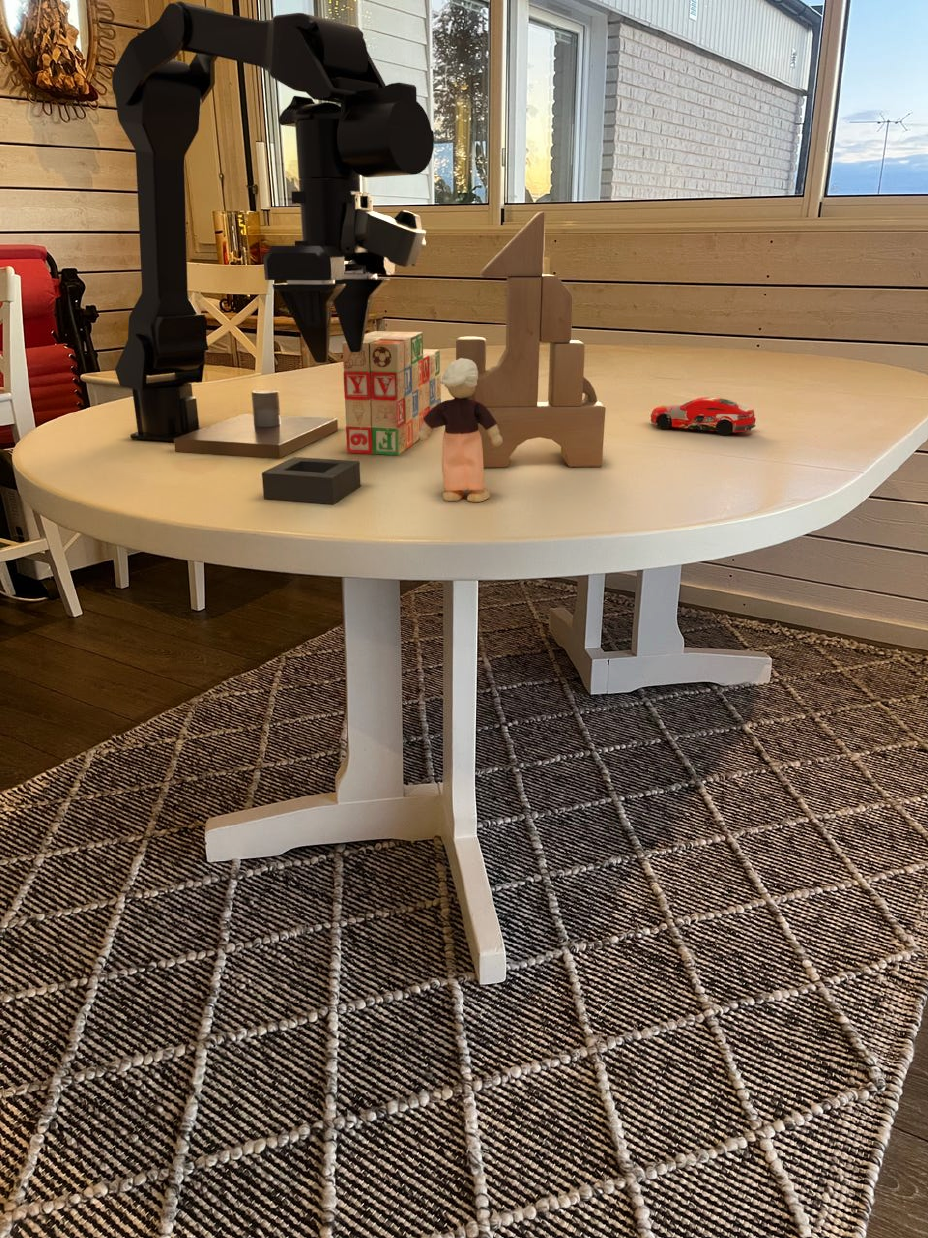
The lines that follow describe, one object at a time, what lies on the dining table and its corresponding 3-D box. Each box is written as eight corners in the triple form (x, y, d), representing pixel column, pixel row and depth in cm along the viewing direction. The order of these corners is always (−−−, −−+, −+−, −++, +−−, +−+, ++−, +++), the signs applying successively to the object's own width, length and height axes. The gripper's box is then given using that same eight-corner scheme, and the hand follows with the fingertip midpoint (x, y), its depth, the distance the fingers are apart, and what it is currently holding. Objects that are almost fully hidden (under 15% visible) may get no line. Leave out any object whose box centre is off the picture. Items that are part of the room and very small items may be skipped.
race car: (643, 428, 118) (646, 396, 117) (657, 421, 123) (660, 391, 121) (746, 438, 112) (750, 405, 111) (757, 431, 117) (761, 399, 115)
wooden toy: (590, 453, 104) (604, 213, 94) (602, 467, 98) (618, 211, 88) (455, 454, 103) (455, 212, 94) (458, 468, 97) (458, 210, 87)
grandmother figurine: (499, 492, 88) (502, 355, 83) (502, 502, 84) (504, 361, 79) (419, 492, 88) (417, 355, 83) (418, 503, 84) (416, 360, 79)
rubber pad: (263, 498, 85) (261, 472, 84) (295, 481, 91) (293, 456, 90) (333, 504, 84) (332, 477, 83) (360, 486, 90) (359, 460, 89)
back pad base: (174, 451, 104) (169, 402, 102) (245, 424, 119) (241, 381, 117) (279, 458, 101) (275, 408, 99) (338, 430, 116) (336, 385, 114)
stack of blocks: (396, 419, 123) (394, 323, 118) (441, 421, 122) (441, 324, 117) (346, 453, 104) (341, 340, 99) (399, 455, 102) (397, 341, 98)
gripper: (381, 171, 73) (388, 371, 79) (442, 184, 90) (443, 349, 96) (253, 173, 76) (269, 367, 82) (335, 186, 92) (343, 346, 98)
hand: (339, 356), depth 89 cm, fingers open, 9 cm apart
